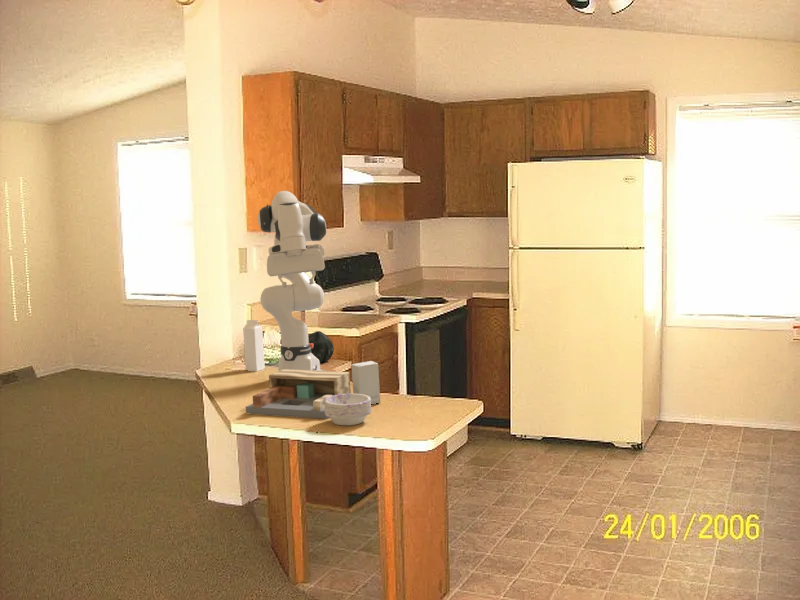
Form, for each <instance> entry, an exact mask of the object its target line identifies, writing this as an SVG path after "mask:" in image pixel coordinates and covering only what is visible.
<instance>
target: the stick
mask: <svg viewBox="0 0 800 600" xmlns="http://www.w3.org/2000/svg"><path fill="white" fill-rule="evenodd" d="M330 396H333V395H324V396H323V397H321V398H319V399H317V400H315V401H313V407H314V410H322V409H324V408H325V399H326V398H328V397H330Z"/></svg>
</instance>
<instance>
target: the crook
mask: <svg viewBox="0 0 800 600" xmlns="http://www.w3.org/2000/svg"><path fill="white" fill-rule="evenodd" d="M280 398H284V399H294V398H296V391H295V387H290V386H274V387H272V388H268V389H264V390H263V391H260V392H257V393H255V394H253V395H252V404H253V407H259V408H261V407H263V406H265V405H268V404H270V403H272V402H274V401H276V400H278V399H280Z"/></svg>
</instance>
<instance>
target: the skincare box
mask: <svg viewBox="0 0 800 600" xmlns="http://www.w3.org/2000/svg"><path fill="white" fill-rule="evenodd" d="M379 370H380V369H379V363H377V362H375V361H373V360H369V361H368V360H367V361H362V362H358V363H352V364H351V377H352V392H353V393H352V394H363V395H367V396H369V397H370V398H371V404H374V405H377V404H376V403H380V404H381V391H380V390H381V389H380V375H379V374H380V373H379Z"/></svg>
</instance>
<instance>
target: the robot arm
mask: <svg viewBox="0 0 800 600" xmlns="http://www.w3.org/2000/svg"><path fill="white" fill-rule="evenodd" d="M257 224H258V225H259V228H260V229H261V231H262V232H263V233H268V234H269V233H270V234H271V233H275V234H274V241H273V243H274V245H273V246H270V247H269V248H268V254H269V255H268V256H267V259H266V273H267V275H268V276H269V277H277V278H278V280H279V281H280V283H281V284H278V285H272V286H269V287H266V288H264V289H263V290H262V291H261V294H260V298H259V299H260V300H259V301H260V305H261V306H262V308H263V309H264V310H265V311H266V312H267V313H269V314H270V315H271V316H272V317H273V318H274V319H275V320H276V321H275V322H277V324H278V327H279V332H280V340H281V342H280V343H281V345H280V355H281V356H280V358H279V359H278V371H281V370H283V369H289V370H314V371H326V370H324V369H321V362H320V361H319V359H317V358H316V357H315V356H314V355H313V354H312V353H311V352H312V351H311V348H313V347H314V344H313V343H311V344H310V343H309V341H308V335H309V327H308V325H307V324H306V322H304V321H302V320H301V319H297V318H295V317H294V316H293V312H304V311H311V310H315V309H319V308H321V307H322V305H323V304H324V301H325V292H324V290H323V287H321V286H320V285H319V284H317V283H316V282H314V279H315V277H316V274H317V273H316V272H319V271H323V270H324V269H326V265H325V260H324V255H325V250H324V247H323V246H322V245H320V244H318V243H317V244H312V245H311V244H309V245H307V244H306V242H320V241H322V240H323V239H324V237H326V234H327V224H326V220H325V218H324V217H323V215H322V214H320V213H319V212H318V213H317V212H316V210H315V209H314V208H313V207H311V205H308V204H307V203H303V202H301V201H300V200H298V198H297V197H296V195H295V194H294V193H292V192H291V191H288V190H281V191H278V192H277V193H276V194H275V195H274V196H273V198H272V201H271V205H269V204H266V206H264V207H262V208H261V209H260V210H259V213H258V215H257ZM309 272H310V273H311V275H312V276H311V278H310V277H309V275H308V274H307V273H309ZM283 279H286V280H288V281H289V282H291V284H287V281H284V280H283Z"/></svg>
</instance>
